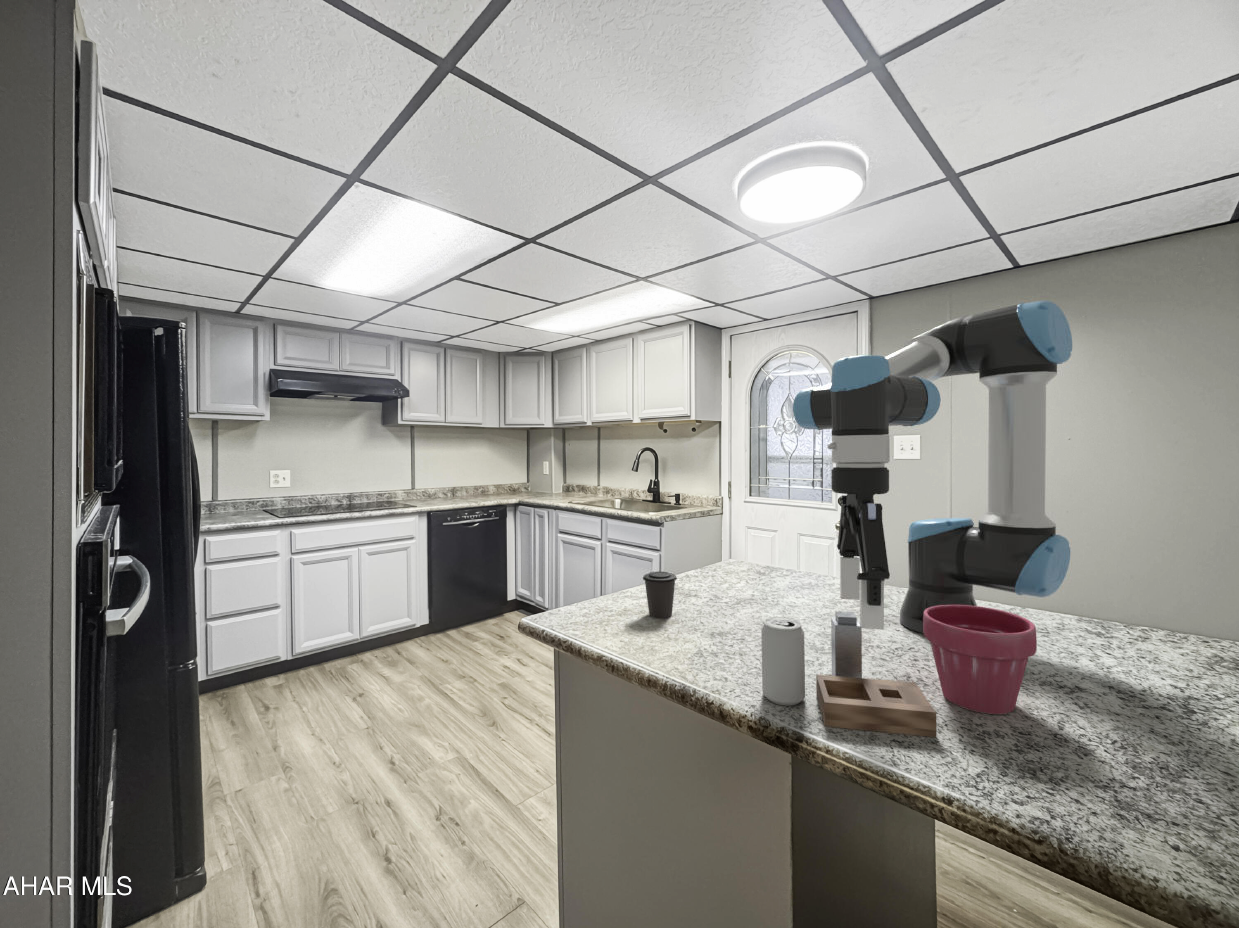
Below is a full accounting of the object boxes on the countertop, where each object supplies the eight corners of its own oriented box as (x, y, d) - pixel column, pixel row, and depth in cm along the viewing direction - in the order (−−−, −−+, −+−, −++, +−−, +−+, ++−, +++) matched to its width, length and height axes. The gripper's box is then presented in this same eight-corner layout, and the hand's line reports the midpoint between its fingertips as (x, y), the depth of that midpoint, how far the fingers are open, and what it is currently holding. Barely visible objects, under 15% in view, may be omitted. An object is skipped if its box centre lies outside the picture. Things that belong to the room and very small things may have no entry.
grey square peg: (856, 676, 87) (856, 611, 87) (862, 687, 84) (861, 619, 83) (831, 674, 88) (831, 610, 88) (835, 685, 85) (834, 617, 84)
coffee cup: (644, 609, 126) (644, 568, 126) (678, 610, 125) (677, 569, 125) (641, 620, 118) (640, 577, 118) (677, 621, 117) (676, 577, 117)
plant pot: (905, 679, 86) (905, 603, 86) (991, 678, 86) (991, 602, 85) (959, 725, 72) (959, 634, 71) (1062, 724, 71) (1063, 633, 71)
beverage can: (799, 712, 76) (799, 631, 76) (756, 701, 80) (755, 624, 79) (809, 694, 82) (808, 619, 81) (768, 685, 85) (767, 613, 85)
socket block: (915, 704, 78) (915, 682, 78) (936, 737, 69) (936, 712, 69) (816, 695, 81) (816, 674, 81) (824, 726, 72) (824, 702, 72)
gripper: (818, 463, 87) (819, 588, 88) (850, 469, 63) (850, 641, 63) (866, 463, 85) (866, 590, 86) (918, 468, 61) (918, 646, 62)
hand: (860, 612), depth 75 cm, fingers open, 13 cm apart
